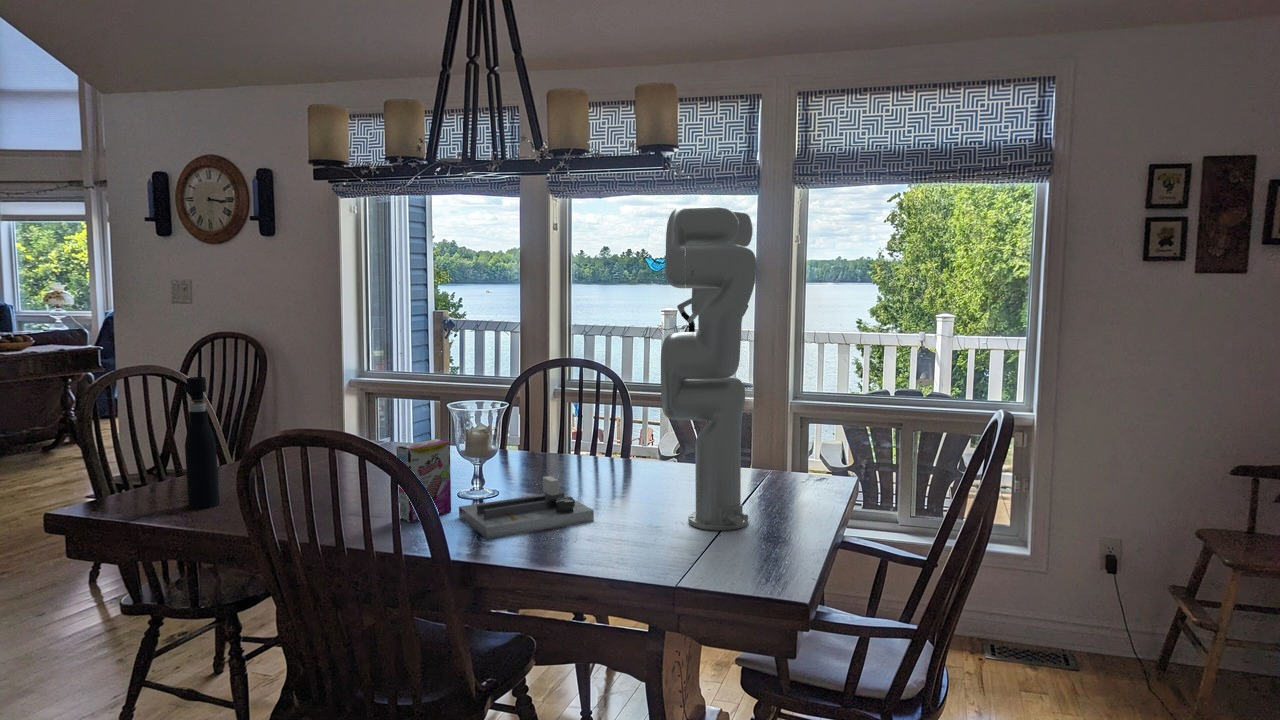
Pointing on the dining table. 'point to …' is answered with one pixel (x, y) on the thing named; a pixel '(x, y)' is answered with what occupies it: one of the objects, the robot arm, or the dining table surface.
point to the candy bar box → (427, 474)
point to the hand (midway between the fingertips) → (712, 339)
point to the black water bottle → (200, 451)
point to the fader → (550, 487)
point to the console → (524, 515)
